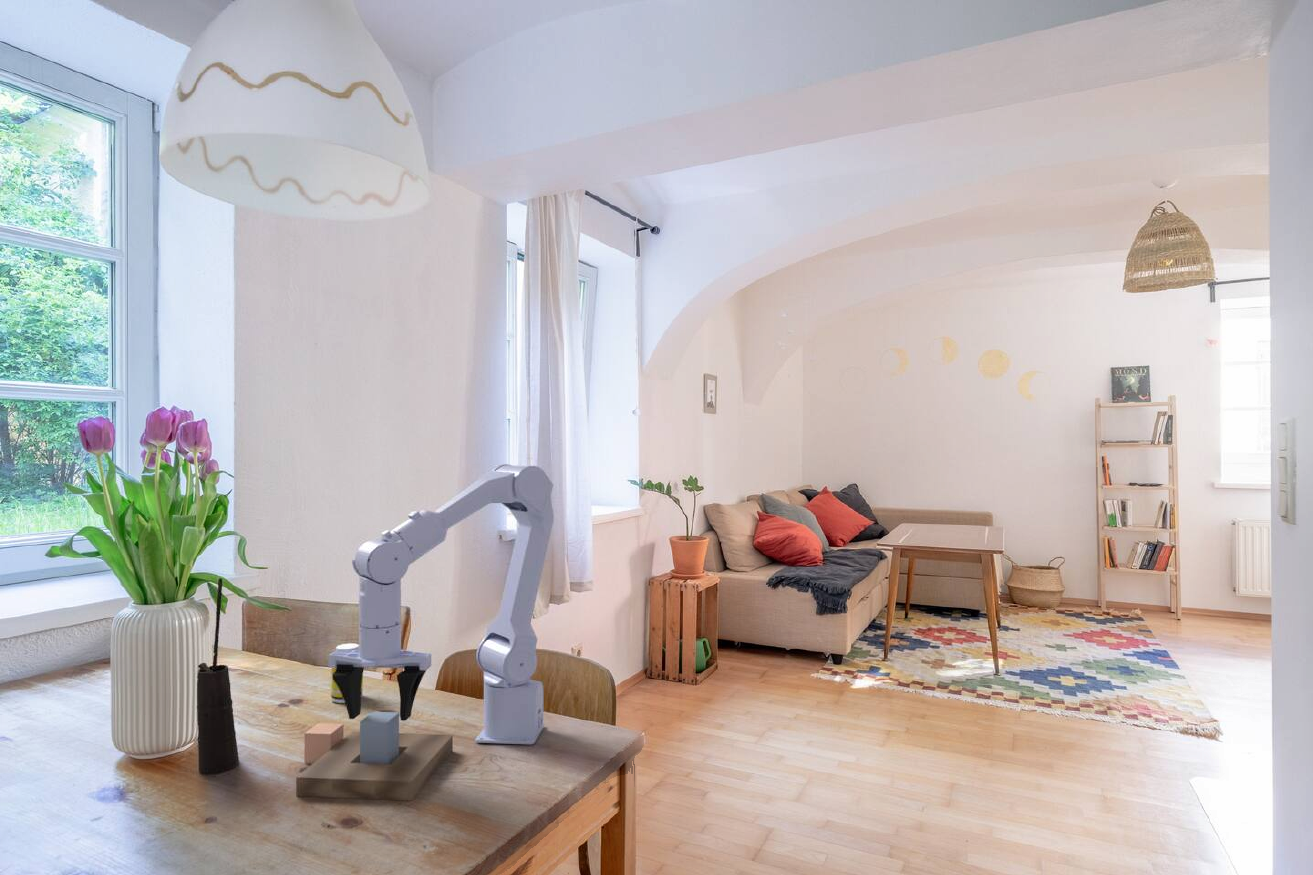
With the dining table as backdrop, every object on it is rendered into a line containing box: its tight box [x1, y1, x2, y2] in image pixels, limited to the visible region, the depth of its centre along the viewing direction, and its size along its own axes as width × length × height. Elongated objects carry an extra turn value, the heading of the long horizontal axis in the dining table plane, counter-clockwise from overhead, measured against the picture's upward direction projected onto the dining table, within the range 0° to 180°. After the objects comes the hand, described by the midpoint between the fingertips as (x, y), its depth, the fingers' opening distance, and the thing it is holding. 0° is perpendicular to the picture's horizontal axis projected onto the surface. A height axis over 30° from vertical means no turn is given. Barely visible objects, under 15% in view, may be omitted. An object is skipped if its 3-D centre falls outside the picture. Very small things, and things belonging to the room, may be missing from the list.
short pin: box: [303, 722, 345, 764], centre depth 114 cm, size 4×4×4 cm
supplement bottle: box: [330, 642, 364, 704], centre depth 140 cm, size 5×5×10 cm
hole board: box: [295, 730, 454, 801], centre depth 109 cm, size 16×16×2 cm
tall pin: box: [359, 711, 400, 764], centre depth 109 cm, size 4×4×8 cm
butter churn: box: [196, 577, 240, 775], centre depth 111 cm, size 9×10×28 cm
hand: (380, 717), depth 109 cm, fingers open, 7 cm apart
